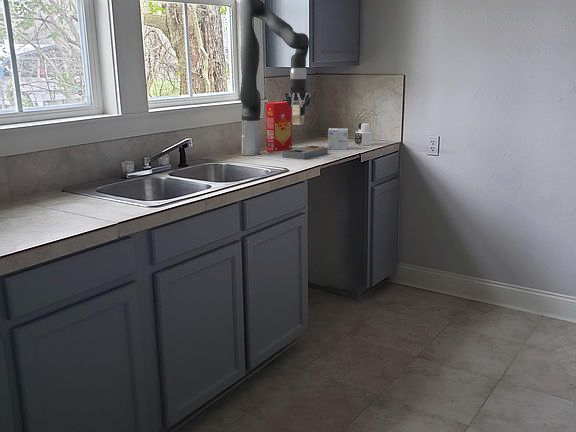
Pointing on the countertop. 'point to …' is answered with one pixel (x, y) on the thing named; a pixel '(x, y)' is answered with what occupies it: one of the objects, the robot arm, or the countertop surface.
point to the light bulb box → (338, 138)
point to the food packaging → (278, 126)
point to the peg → (297, 115)
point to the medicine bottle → (363, 135)
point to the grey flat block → (305, 152)
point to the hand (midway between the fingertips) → (298, 115)
